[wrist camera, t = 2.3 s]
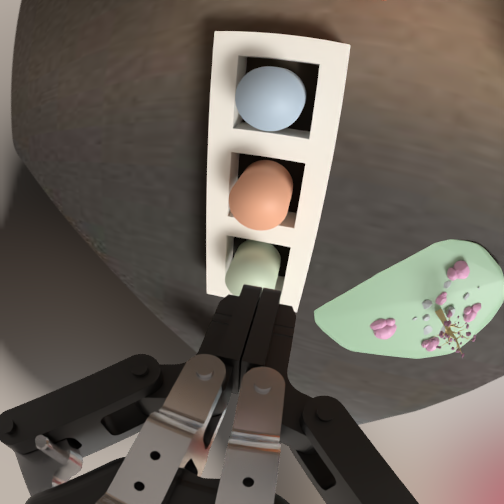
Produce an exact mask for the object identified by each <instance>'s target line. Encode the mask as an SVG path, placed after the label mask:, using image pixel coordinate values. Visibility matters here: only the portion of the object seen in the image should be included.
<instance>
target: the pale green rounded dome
mask: <svg viewBox="0 0 504 504" xmlns="http://www.w3.org/2000/svg"><path fill="white" fill-rule="evenodd" d="M280 264H281V257H280V254H279V252H278V250H277V249H276V248H275V247H274V246H273V245H272V244H270V243H266V242H260V241H255V240H247V241H245V242H243V243H242V244H241V245H240V246H239V247H238V249H237V251H236V253H235V255H234V258H233V260H232V262H231V264H230V266H229V269H228V271H227V273H226V276H225V283H226V286H227V288H228V290H229V291H230V292H231V293H232V294H233V295H235V296H239V295H240V293H241V290H242V287H243V285H244V284H247V285H252V286H258V287H262V290H263V288H269V289H275V285H276V281H277V277H278V272H279V268H280Z"/></svg>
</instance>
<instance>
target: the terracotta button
mask: <svg viewBox="0 0 504 504" xmlns="http://www.w3.org/2000/svg"><path fill="white" fill-rule="evenodd" d="M292 191H293V180H292V177H291V175H290V173H289V172H288V170H287V169H286V168H285V167H284V166H282V165H281V164H279V163H277V162H274V161H271V160H260V161H256V162H254V163H252V164H251V165H249V166H248V167H247V168H246V169H245V171H244V172H243V173H242V175H241V176H240V178H239V179H238V180H237V182H236V183H235V185H234V186H233V187H232V189H231V191H230V194H229V207H230V210H231V213H232V214H233V216H234V217H235V219H236V220H237V221H238V222H239V223H241V224H242V225H244V226H245V227H247V228H250V229H253V230H259V231H263V230H269V229H272V228H275V227H276V226H278V225H279V224H280V223H281V222H282V221H283V220H284V219H285V217H286V215H287V212H288V208H289V204H290V200H291V196H292Z"/></svg>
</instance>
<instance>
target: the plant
mask: <svg viewBox="0 0 504 504" xmlns="http://www.w3.org/2000/svg"><path fill="white" fill-rule="evenodd" d="M503 300H504V277H503V273H502V270H501V268H500V266H499V265H498V264H497V262H496V261H495V260H494V259H493V258H492V256H491V255H490V254H489V253H488V252H487V251H486V250H485V249H484V248H483V247H482V246H480V245H479V244H477V243H474V242H471V241H465V240H453V239H451V240H446V241H442V242H438V243H434V244H432V245H431V246H429V247H427V248H425V249H423V250H422V251H420V252H418V253H416V254H414V255H412V256H411V257H409V258H407V259H405V260H403V261H401V262H399V263H397V264H395V265H393V266H392V267H390V268H388V269H386V270H384V271H382V272H380V273H378V274H377V275H375V276H373V277H372V278H370V279H368V280H367V281H365V282H363V283H361V284H360V285H358V286H356V287H355V288H353V289H351V290H349V291H348V292H346V293H344V294H342V295H341V296H339V297H337V298H335V299H333V300H332V301H330V302H328V303H326V304H324V305H323V306H321V307H320V308H318V309H317V310H315V311H314V318H315V322H316V323H317V325H318V326H319V327H320V328H321V329H322V330H323V331H324V332H325V333H326V334H327V335H328V336H330V337H331V338H332V339H333V340H335V341H336V342H337V343H338V344H340V345H341V346H343V347H345V348H346V349H348V350H351V351H356V352H363V353H370V354H378V355H386V356H395V357H405V358H416V359H419V358H427V357H433V356H440V355H446V354H450V353H453V352H455V351H456V352H457V353H458V352H459V351H461V349H460V348H461V347H462V346H463V345H464V344H466V343H467V342H468V341H470V339H471V338H472V337H474V338H473V340H472V341H475V339H476V338H475V337H476V334H477V333H478V332H479V331H480V330H481V329H482V328H484V327H485V326H486V325H487V324H488V323H489V322H490V321H491V320H492V318H493V317H494V315H495V314H496V313H497V311H498V310H499V308H500V306H501V305H502V303H503ZM459 353H460V354H461V353H462V352H459ZM463 357H464V353H463V354H462V358H463Z"/></svg>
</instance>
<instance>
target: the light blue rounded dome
mask: <svg viewBox="0 0 504 504" xmlns="http://www.w3.org/2000/svg"><path fill="white" fill-rule="evenodd" d="M235 102H236V107H237V109H238V112H239V114H240V115H241V117H242V118H243V119H244V120H245V121H246V122H247V123H248V124H249V125H251V126H253V127H255V128H257V129H260V130H264V131H278V130H281V129H284V128H286V127H288V126H290V125H291V124H292V123H294V122H295V121H296V120H297V118H298V117H299V115H300V113H301V111H302V109H303V107H304V105H305V102H306V89H305V86H304V84H303V82H302V80H301V79H300V78H299V77H298V76H297V75H296V74H295V73H294V72H292V71H290V70H288V69H285V68H280V67H272V66H266V67H260V68H256V69H254V70H252V71H250V72H249V73H247V74H246V75H245V76H244V77H243V78H242V79H241V81H240V82H239V84H238V86H237V89H236V94H235Z"/></svg>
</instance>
